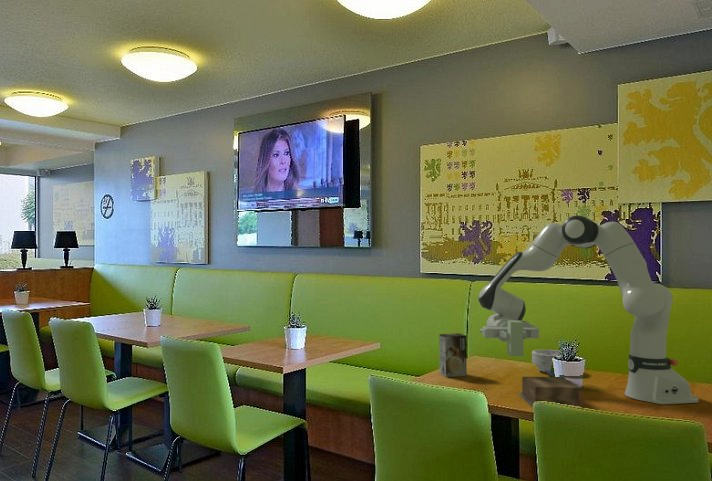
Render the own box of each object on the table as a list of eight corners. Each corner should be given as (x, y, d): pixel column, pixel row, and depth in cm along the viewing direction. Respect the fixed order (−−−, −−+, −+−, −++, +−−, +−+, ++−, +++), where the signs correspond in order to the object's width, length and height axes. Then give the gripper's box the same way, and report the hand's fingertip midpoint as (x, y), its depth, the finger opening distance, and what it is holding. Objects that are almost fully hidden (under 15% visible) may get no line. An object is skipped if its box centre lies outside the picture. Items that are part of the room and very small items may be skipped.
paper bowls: (565, 367, 239) (565, 349, 239) (575, 376, 224) (575, 356, 224) (528, 366, 241) (528, 348, 241) (536, 375, 226) (536, 355, 226)
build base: (564, 394, 196) (564, 376, 196) (583, 408, 180) (583, 388, 180) (518, 394, 196) (518, 376, 196) (533, 407, 180) (533, 387, 180)
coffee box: (459, 372, 229) (460, 332, 229) (466, 376, 222) (467, 335, 222) (438, 373, 226) (439, 333, 226) (445, 377, 220) (445, 336, 220)
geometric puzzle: (570, 378, 212) (564, 358, 217) (553, 378, 211) (547, 358, 216) (562, 385, 217) (556, 366, 222) (546, 386, 216) (540, 366, 221)
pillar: (519, 353, 204) (519, 320, 204) (523, 356, 199) (523, 322, 199) (507, 353, 204) (507, 320, 204) (510, 356, 199) (510, 322, 199)
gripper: (478, 321, 214) (486, 326, 200) (531, 321, 214) (544, 327, 200) (478, 337, 214) (486, 344, 200) (531, 338, 214) (544, 344, 200)
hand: (516, 335), depth 200 cm, fingers closed on pillar, 4 cm apart
